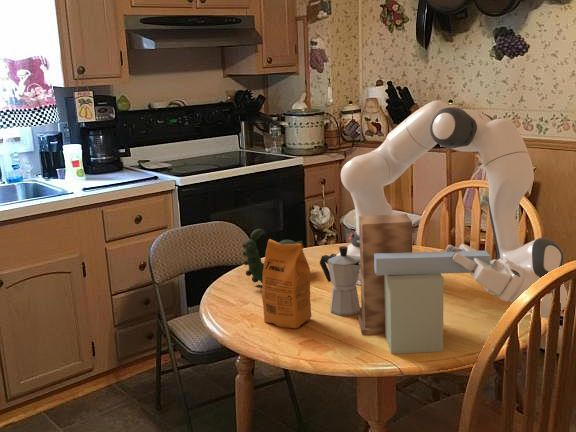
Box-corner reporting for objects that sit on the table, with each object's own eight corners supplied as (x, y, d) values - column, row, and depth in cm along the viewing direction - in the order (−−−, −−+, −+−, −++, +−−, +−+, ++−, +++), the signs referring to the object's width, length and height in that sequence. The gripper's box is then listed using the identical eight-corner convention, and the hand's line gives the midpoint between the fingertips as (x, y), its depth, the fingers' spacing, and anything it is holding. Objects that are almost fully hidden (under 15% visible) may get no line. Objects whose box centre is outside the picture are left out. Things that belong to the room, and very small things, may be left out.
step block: (391, 353, 152) (390, 280, 148) (385, 335, 162) (384, 266, 157) (443, 351, 152) (443, 278, 147) (433, 333, 161) (434, 264, 157)
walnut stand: (361, 334, 163) (358, 226, 156) (357, 317, 174) (354, 215, 167) (418, 331, 163) (417, 223, 156) (410, 314, 174) (409, 212, 167)
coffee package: (280, 309, 182) (276, 233, 176) (317, 318, 174) (313, 239, 169) (257, 322, 174) (252, 243, 169) (294, 332, 167) (290, 249, 161)
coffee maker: (373, 310, 178) (372, 247, 173) (352, 320, 172) (350, 255, 168) (332, 298, 188) (330, 238, 184) (311, 307, 182) (308, 245, 178)
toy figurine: (264, 298, 196) (316, 267, 214) (256, 237, 190) (310, 211, 208) (241, 291, 202) (294, 262, 220) (232, 233, 196) (287, 208, 214)
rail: (376, 275, 151) (376, 258, 150) (374, 269, 154) (374, 253, 154) (489, 272, 150) (490, 255, 149) (484, 266, 154) (485, 250, 153)
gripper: (495, 252, 162) (446, 228, 161) (523, 280, 142) (469, 253, 141) (482, 274, 163) (434, 250, 162) (508, 305, 144) (454, 277, 142)
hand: (450, 251), depth 151 cm, fingers open, 5 cm apart
